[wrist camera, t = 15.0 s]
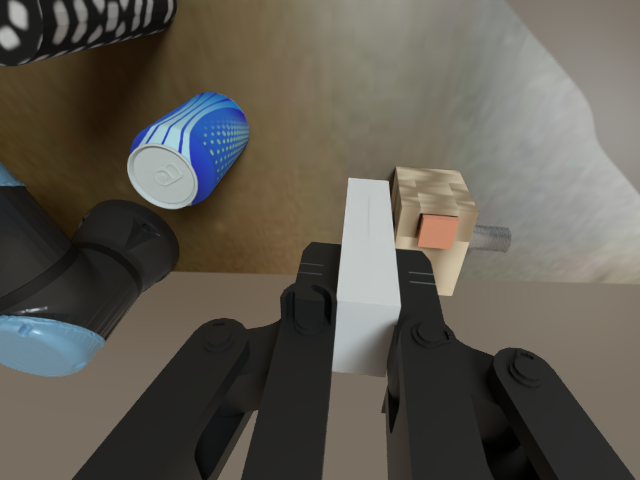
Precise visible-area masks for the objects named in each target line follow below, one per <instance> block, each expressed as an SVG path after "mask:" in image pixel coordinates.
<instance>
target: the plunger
mask: <svg viewBox="0 0 640 480" xmlns="http://www.w3.org/2000/svg"><path fill="white" fill-rule="evenodd" d="M419 221H420V230H419V234H418V239H417V247H428V248H440V249H451V248H452V245H453V241H454V238H455V235H456V231H457V228H458V225H459V219H458V217H449V215H437V214H425V213H420V216H419Z"/></svg>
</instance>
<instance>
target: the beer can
mask: <svg viewBox="0 0 640 480" xmlns="http://www.w3.org/2000/svg"><path fill="white" fill-rule="evenodd" d="M248 138H249V126H248V122H247V119H246V117H245V115H244V113H243V111H242V110H241V109H240V107H239V106H238V105H237V104H236V103H235V102H234V101H232V100H231V99H230V98H228V97H226V96H224V95H221V94H218V93H213V92H206V93H201V94H198V95H196V96H195V97H193V98H191V99H190V100H188V101H187V102H185V103H184V104H182V105H181V106H179V107H178V108H176V109H175V110H173V111H171V112H170V113H168V114H167V115H165V116H164V117H162V118H161V119H159V120H158V121H156V122H155V123H153V124H151V125H150V126H148V127H147V128H145V129H144V130H142V131H141V132H140V133H139V134H138V135H137V136H136V138H135V139H134V141H133V143H132V146H131V150H130V156H129V159H128V163H127V171H128V175H129V178H130V181H131V183H132V185H133V186H134V188H135V189H136V190H137V192H138V193H139V194H140V195H141V196H142V197H143V198H145V199H146V200H147V201H149V202H151V203H152V204H154V205H156V206H159V207H162V208H166V209H179V208H182V207H185V206H190V205H194V204H197V203H200V202H202V201H203V200H205V199H206V198H207V197H208V196H209V195H210V194H211V192H212V191H213V190H214V188H215V187H216V186H217V184H218V183H219V182H220V180H221V179H222V178H223V176H224V175H225V174H226V172H227V171H228V170H229V168H230V167H231V166H232V164H233V163H234V162H235V160H236V159H237V158H238V156H239V155H240V154H241V152H242V151H243V150H244V148H245V147H246V145H247V142H248Z"/></svg>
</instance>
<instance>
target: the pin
mask: <svg viewBox="0 0 640 480" xmlns="http://www.w3.org/2000/svg"><path fill="white" fill-rule="evenodd" d="M392 221H393V231H394V230H395V218H394V213H393V212H392ZM417 227H420V221H419V220H418V225H417ZM510 243H511V232H510V230H509V228H504V227H492V226H479V225H475V227H474V230H473V233H472V236H471V239H470V242H469V245H468V248H467V249H476V250H487V251H499V252H506V251H507V250H508V249H509V247H510Z"/></svg>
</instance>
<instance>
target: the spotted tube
mask: <svg viewBox="0 0 640 480" xmlns="http://www.w3.org/2000/svg"><path fill="white" fill-rule="evenodd" d="M176 9H177V0H0V65H1V66H18V65H22V64H27V63H31V62H35V61H40V60H44V59H48V58H52V57H57V56H61V55H65V54H69V53H74V52H78V51H82V50H86V49H91V48H95V47H99V46H103V45H108V44H112V43H116V42H121V41H125V40H129V39H133V38H138V37H142V36H146V35H150V34H155V33H158V32H161V31H162V30H164V29H166V28H167V27H168V26H169V25H170V23H171V22H172V20H173V18H174V16H175V13H176Z"/></svg>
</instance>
